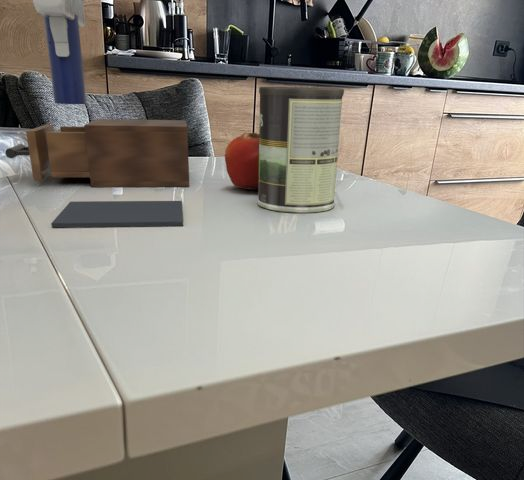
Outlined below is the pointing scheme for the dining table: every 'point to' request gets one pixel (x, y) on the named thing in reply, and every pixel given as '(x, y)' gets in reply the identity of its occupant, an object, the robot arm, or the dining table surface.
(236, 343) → the dining table surface
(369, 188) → the dining table surface
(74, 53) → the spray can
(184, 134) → the cabinet
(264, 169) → the coffee can
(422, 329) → the dining table surface
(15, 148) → the drawer
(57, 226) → the mat
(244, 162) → the tomato
